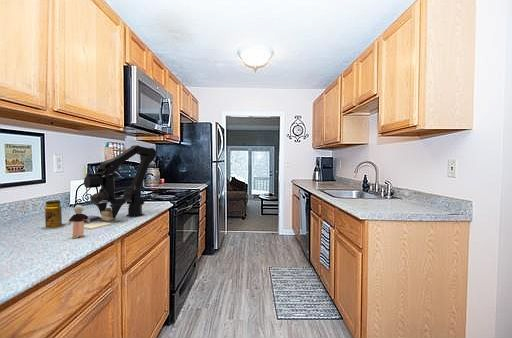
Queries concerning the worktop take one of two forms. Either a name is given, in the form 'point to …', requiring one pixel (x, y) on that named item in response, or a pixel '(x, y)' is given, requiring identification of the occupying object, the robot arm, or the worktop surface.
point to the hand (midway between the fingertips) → (108, 217)
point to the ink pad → (92, 218)
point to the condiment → (53, 215)
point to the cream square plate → (97, 225)
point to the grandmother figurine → (78, 222)
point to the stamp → (107, 215)
